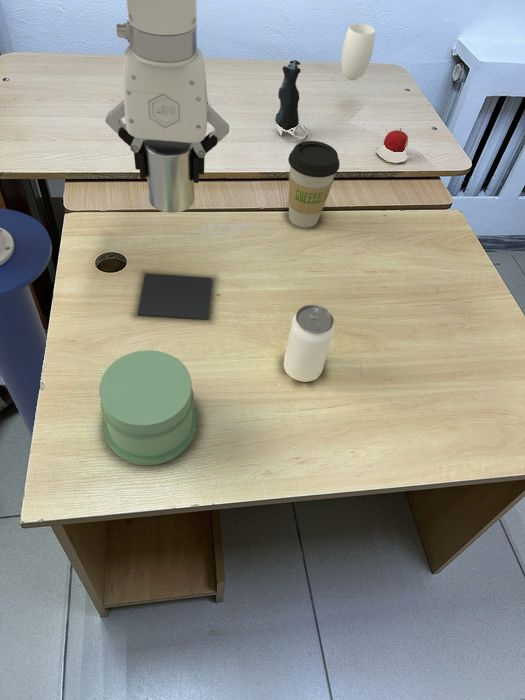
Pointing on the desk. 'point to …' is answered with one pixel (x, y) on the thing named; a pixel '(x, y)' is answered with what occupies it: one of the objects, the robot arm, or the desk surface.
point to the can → (308, 342)
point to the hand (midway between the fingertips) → (170, 174)
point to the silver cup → (169, 175)
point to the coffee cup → (310, 180)
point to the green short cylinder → (148, 407)
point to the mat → (175, 296)
